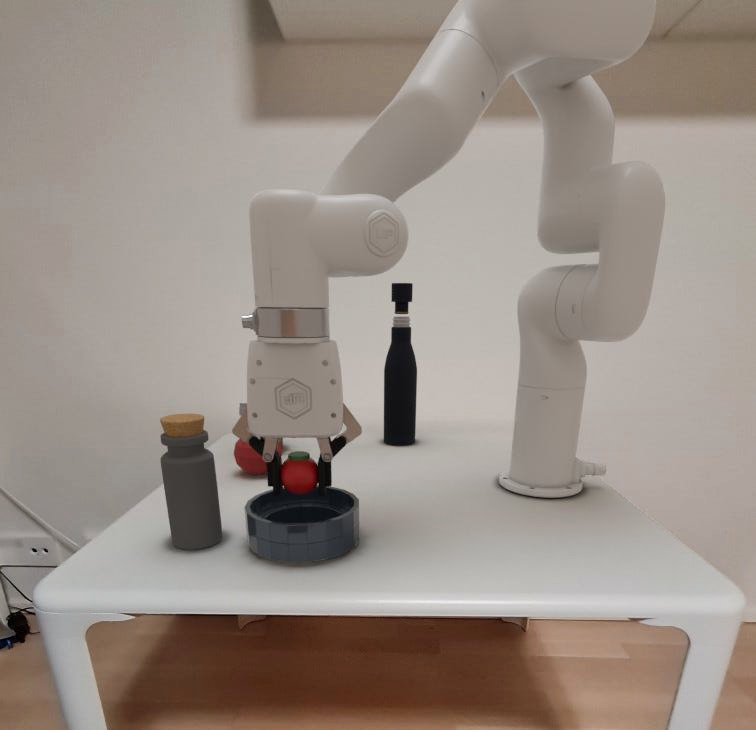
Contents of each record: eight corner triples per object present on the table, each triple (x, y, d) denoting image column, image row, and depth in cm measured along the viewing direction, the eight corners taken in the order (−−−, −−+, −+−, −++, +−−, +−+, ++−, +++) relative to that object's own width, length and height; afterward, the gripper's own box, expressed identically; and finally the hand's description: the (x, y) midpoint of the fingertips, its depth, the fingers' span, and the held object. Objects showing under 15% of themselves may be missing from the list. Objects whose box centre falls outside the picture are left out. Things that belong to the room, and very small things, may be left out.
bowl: (359, 520, 72) (358, 484, 70) (359, 566, 59) (359, 524, 58) (258, 521, 71) (255, 485, 70) (238, 568, 59) (234, 525, 57)
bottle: (204, 526, 70) (190, 410, 64) (232, 538, 66) (220, 416, 61) (162, 541, 66) (143, 418, 60) (190, 554, 62) (172, 425, 57)
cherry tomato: (321, 486, 65) (320, 448, 64) (319, 500, 61) (317, 459, 59) (283, 487, 65) (281, 448, 64) (278, 500, 61) (275, 459, 59)
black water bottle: (389, 446, 107) (390, 282, 96) (379, 439, 113) (380, 283, 102) (419, 444, 109) (424, 283, 98) (409, 437, 114) (412, 283, 104)
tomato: (292, 473, 91) (289, 428, 88) (249, 483, 86) (245, 435, 83) (268, 463, 96) (265, 420, 94) (227, 471, 92) (223, 426, 89)
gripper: (201, 328, 53) (219, 503, 59) (375, 329, 53) (374, 503, 60) (220, 324, 60) (233, 482, 66) (373, 325, 60) (372, 481, 67)
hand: (300, 490), depth 63 cm, fingers closed on cherry tomato, 4 cm apart
